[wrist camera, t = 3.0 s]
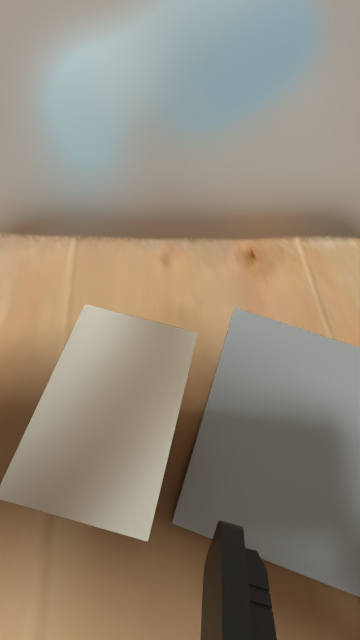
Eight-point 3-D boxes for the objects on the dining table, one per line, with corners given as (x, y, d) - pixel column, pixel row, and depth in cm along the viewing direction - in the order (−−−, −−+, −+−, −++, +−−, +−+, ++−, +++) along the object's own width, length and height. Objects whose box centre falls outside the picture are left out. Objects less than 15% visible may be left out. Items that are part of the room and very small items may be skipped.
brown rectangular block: (81, 501, 19) (-6, 497, 8) (115, 401, 22) (85, 304, 11) (148, 520, 18) (148, 541, 8) (174, 416, 21) (198, 332, 11)
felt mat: (171, 522, 18) (171, 523, 18) (233, 311, 26) (235, 307, 25) (402, 613, 17) (410, 617, 17) (398, 365, 25) (403, 362, 24)
